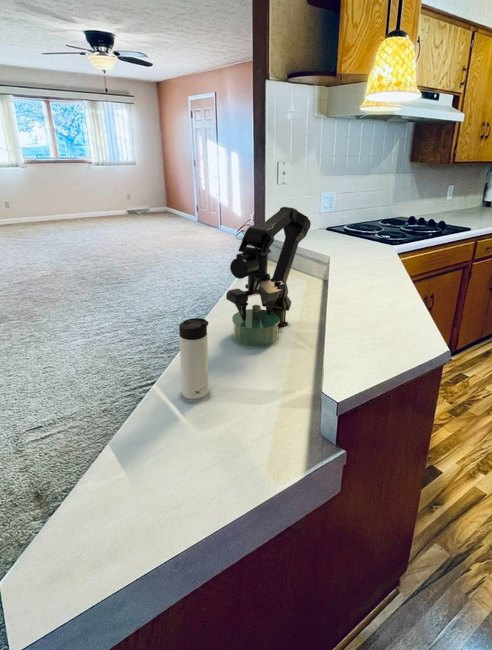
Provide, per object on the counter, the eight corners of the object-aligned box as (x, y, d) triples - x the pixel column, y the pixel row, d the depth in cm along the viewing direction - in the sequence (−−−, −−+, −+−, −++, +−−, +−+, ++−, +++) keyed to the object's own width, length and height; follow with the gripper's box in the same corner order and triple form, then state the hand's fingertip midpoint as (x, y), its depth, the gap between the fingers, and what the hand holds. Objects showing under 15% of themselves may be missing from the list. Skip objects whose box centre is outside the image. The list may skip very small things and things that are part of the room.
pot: (260, 325, 139) (260, 307, 137) (286, 340, 130) (287, 322, 127) (225, 335, 131) (225, 316, 129) (250, 352, 121) (250, 333, 119)
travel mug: (203, 404, 97) (201, 328, 89) (177, 400, 98) (173, 324, 90) (213, 390, 102) (212, 317, 95) (188, 386, 104) (185, 313, 96)
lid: (261, 308, 138) (261, 294, 136) (289, 324, 127) (290, 309, 126) (223, 318, 129) (223, 303, 127) (250, 336, 118) (250, 320, 117)
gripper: (247, 282, 110) (246, 334, 116) (299, 272, 122) (295, 319, 128) (225, 271, 118) (225, 321, 124) (275, 262, 130) (273, 308, 136)
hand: (256, 317), depth 128 cm, fingers open, 9 cm apart
